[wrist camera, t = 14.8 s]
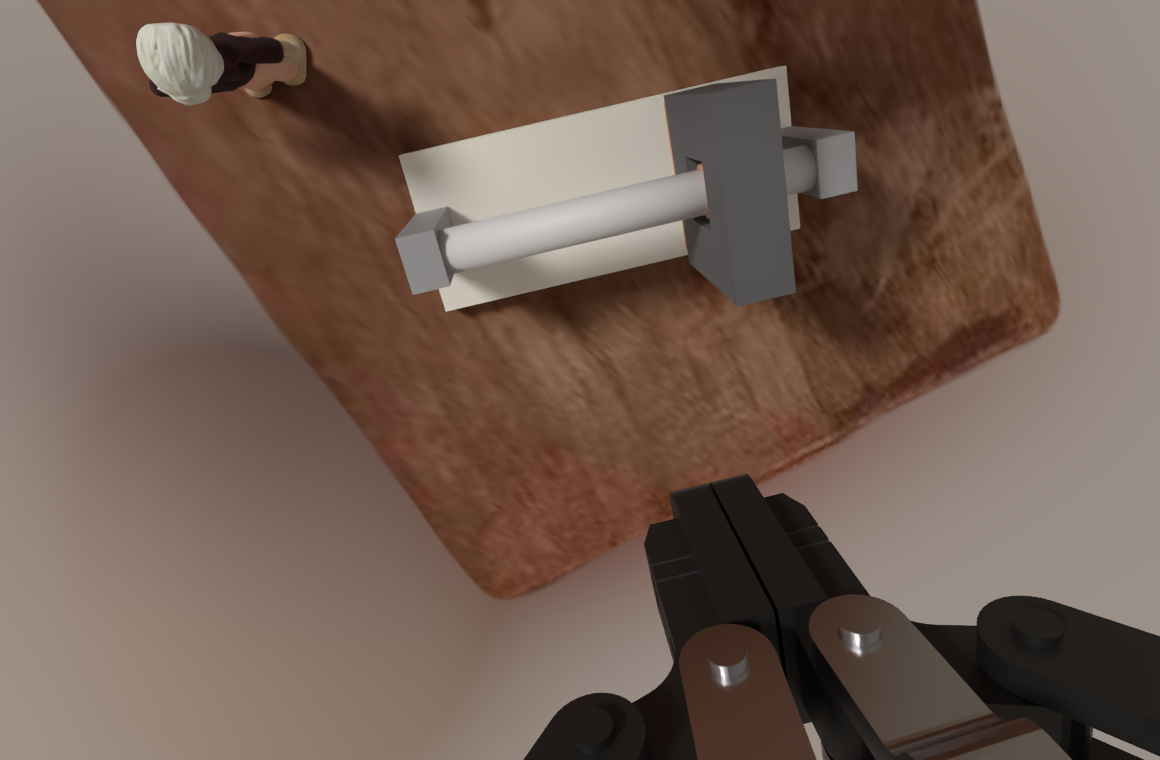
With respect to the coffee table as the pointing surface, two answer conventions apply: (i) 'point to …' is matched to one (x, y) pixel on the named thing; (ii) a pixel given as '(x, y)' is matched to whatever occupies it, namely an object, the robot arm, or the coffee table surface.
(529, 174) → the pipe stand
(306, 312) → the coffee table surface
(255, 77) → the grandmother figurine
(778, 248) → the grey plate with hole
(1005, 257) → the coffee table surface
